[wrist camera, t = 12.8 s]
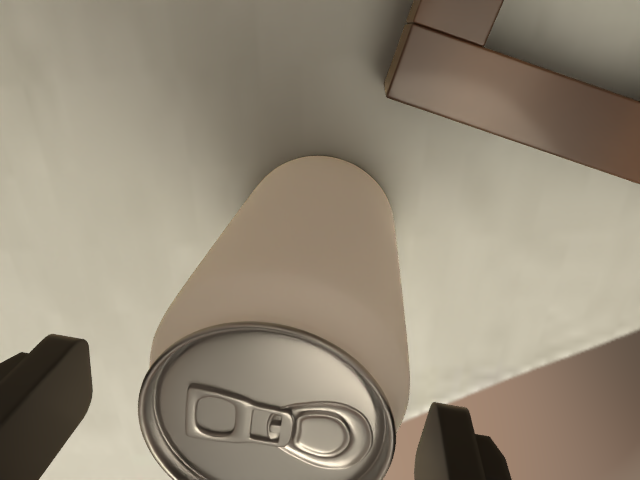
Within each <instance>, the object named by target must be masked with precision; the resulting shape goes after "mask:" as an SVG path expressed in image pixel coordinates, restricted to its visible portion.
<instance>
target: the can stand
mask: <svg viewBox="0 0 640 480" xmlns="http://www.w3.org/2000/svg"><path fill="white" fill-rule="evenodd" d="M503 1H504V0H413V3H412V6H411V9H410V12H409V14H408V17H407V20H406V23H407V24H405V26H404V29H403V31H402V34H401V37H400V40H399V43H398V45H397V48H396V51H395V54H394V57H393V60H392V62H391V65H390V68H389V71H388V74H387V76H386V79H385V82H384V87H385V93H386V97H387V98H389V99H392V100H395V101H398V102H401V103H404V104H407V105H410V106H413V107H416V108H419V109H422V110H424V111H427V112H430V113H433V114H436V115H439V116H442V117H445V118H448V119H451V120H454V121H457V122H459V123H462V124H465V125H468V126H471V127H474V128H477V129H480V130H483V131H486V132H489V133H492V134H495V135H497V136H500V137H503V138H506V139H509V140H512V141H515V142H518V143H521V144H524V145H527V146H530V147H533V148H535V149H538V150H541V151H544V152H547V153H550V154H553V155H556V156H559V157H562V158H565V159H568V160H571V161H573V162H576V163H579V164H582V165H585V166H588V167H591V168H594V169H597V170H600V171H603V172H606V173H609V174H611V175H614V176H617V177H620V178H623V179H626V180H629V181H632V182H635V183H638V184H640V101H637V100H634V99H631V98H628V97H625V96H622V95H620V94H617V93H614V92H611V91H608V90H605V89H602V88H599V87H597V86H594V85H591V84H588V83H585V82H582V81H579V80H577V79H574V78H571V77H568V76H565V75H562V74H559V73H556V72H554V71H551V70H548V69H545V68H542V67H539V66H536V65H533V64H531V63H528V62H525V61H522V60H519V59H516V58H513V57H510V56H508V55H505V54H502V53H499V52H496V51H493V50H490V49H488V48H485V47H482V46H484V45H485V43H486V40H487V38H488V36H489V34H490V31H491V29H492V27H493V24H494V22H495V20H496V17H497V15H498V13H499V10H500V8H501V6H502V3H503Z"/></svg>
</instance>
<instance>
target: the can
mask: <svg viewBox="0 0 640 480" xmlns="http://www.w3.org/2000/svg"><path fill="white" fill-rule="evenodd" d="M409 388H410V371H409V356H408V345H407V335H406V325H405V315H404V306H403V296H402V287H401V278H400V269H399V260H398V251H397V242H396V234H395V226H394V219H393V214H392V209H391V206H390V204H389V201H388V199H387V197H386V195H385V193H384V192H383V190H382V189H381V187H380V186H379V185H378V183H377V182H376V181H375V180H374V179H373V178H372V177H371V176H370V175H369V174H367V173H366V172H365V171H363V170H362V169H361V168H359V167H357V166H355V165H354V164H352V163H349V162H347V161H344V160H341V159H338V158H334V157H328V156H307V157H301V158H297V159H294V160H291V161H289V162H286V163H284V164H282V165H280V166H279V167H277V168H276V169H274V170H273V171H271V172H270V173H269V174H268V175H267V176H266V177H265V178H264V179H263V180H262V181H261V182H260V183H259V185H258V186H257V187H256V188H255V190H254V191H253V192H252V193H251V195H250V196H249V197H248V199H247V200H246V201H245V203H244V204H243V205H242V207H241V208H240V209H239V211H238V212H237V214H236V215H235V216H234V218H233V219H232V220H231V222H230V223H229V224H228V226H227V227H226V228H225V230H224V231H223V233H222V234H221V235H220V237H219V238H218V239H217V241H216V242H215V243H214V245H213V246H212V248H211V249H210V250H209V252H208V253H207V254H206V256H205V257H204V259H203V260H202V261H201V263H200V264H199V265H198V267H197V268H196V270H195V271H194V272H193V274H192V275H191V276H190V278H189V279H188V281H187V282H186V284H185V285H184V286H183V288H182V289H181V291H180V292H179V293H178V295H177V296H176V298H175V299H174V301H173V302H172V304H171V305H170V307H169V308H168V310H167V311H166V313H165V315H164V316H163V318H162V320H161V322H160V324H159V326H158V328H157V331H156V333H155V336H154V339H153V343H152V348H151V354H150V368H149V370H148V372H147V374H146V376H145V378H144V380H143V383H142V386H141V389H140V393H139V399H138V417H139V424H140V428H141V432H142V435H143V438H144V440H145V442H146V444H147V447H148V449H149V450H150V452H151V454H152V455H153V457H154V458H155V460H156V461H157V463H158V464H159V465H160V467H161V468H162V469H163V470H164V471H165V472H166V473H167V474H168V475H169V477H171V478H172V479H173V480H383V478H384V476H385V474H386V473H387V471H388V469H389V467H390V465H391V462H392V459H393V455H394V451H395V444H396V433H397V431H398V429H399V427H400V425H401V423H402V420H403V418H404V415H405V412H406V409H407V405H408V400H409Z"/></svg>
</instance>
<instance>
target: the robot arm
mask: <svg viewBox="0 0 640 480" xmlns="http://www.w3.org/2000/svg"><path fill="white" fill-rule="evenodd" d="M92 392H93V389H92V377H91V366H90V355H89V346H88V343H87V341H86V340H84V339H79V338H73V337H68V336H62V335H56V334H50V335H48V336H47V337H45V338H44V339H43V340H42V341H41V342H40V343H39V344H38V345H37V346H36V347H35V348H34V349H33V350H32V351H31V352H30V353H29V354H28V353H23V352H21V353H19V354H17V355H15V356H13V357H11V358H9V359H7V360H6V361H4V362H2V363H0V480H39V479H40V477H41V476H42V474H43V473H44V472H45V470H46V469H47V468H48V466H49V465H50V463H51V462H52V461H53V459H54V458H55V457H56V455H57V454H58V452H59V451H60V450H61V448H62V447H63V445H64V444H65V443H66V441H67V440H68V439H69V437H70V436H71V434H72V433H73V432H74V430H75V429H76V428H77V426H78V425H79V423H80V422H81V421H82V419H83V418H84V416H85V415H86V413H87V411H88V408H89V406H90V403H91V399H92ZM414 477H415V480H511V476H510V473H509V470H508V466H507V463H506V459H505V457H504V456H503V455H502V453H501V452H500V450H499V449H498V448H497V446H496V445H495V444H494V442H493V441H492V439H491V438H490V437H489V436H483V435H478V434H475V433H474V429H473V425H472V421H471V416H470V413H469V410H468V409H467V408H465V407H459V406H453V405H448V404H442V403H436V402H433V403H432V405H431V407H430V409H429V413H428V416H427V419H426V422H425V426H424V429H423V432H422V435H421V438H420V442H419V445H418V448H417V452H416V458H415V469H414Z"/></svg>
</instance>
